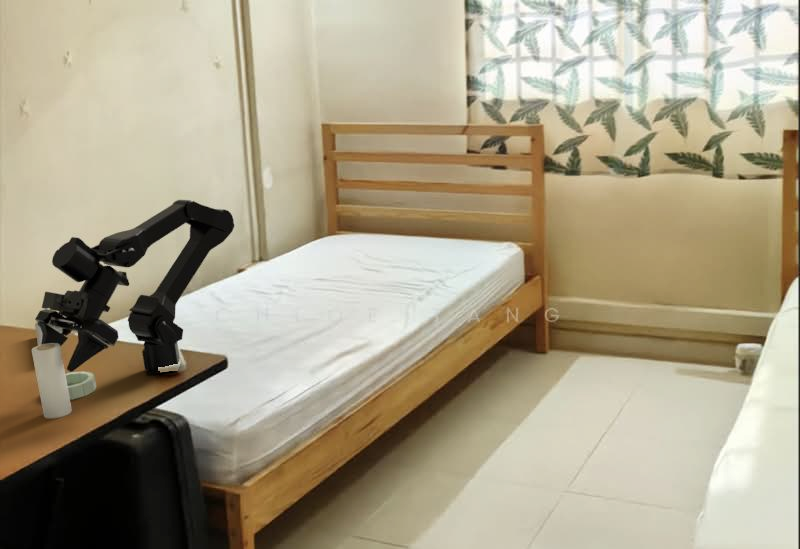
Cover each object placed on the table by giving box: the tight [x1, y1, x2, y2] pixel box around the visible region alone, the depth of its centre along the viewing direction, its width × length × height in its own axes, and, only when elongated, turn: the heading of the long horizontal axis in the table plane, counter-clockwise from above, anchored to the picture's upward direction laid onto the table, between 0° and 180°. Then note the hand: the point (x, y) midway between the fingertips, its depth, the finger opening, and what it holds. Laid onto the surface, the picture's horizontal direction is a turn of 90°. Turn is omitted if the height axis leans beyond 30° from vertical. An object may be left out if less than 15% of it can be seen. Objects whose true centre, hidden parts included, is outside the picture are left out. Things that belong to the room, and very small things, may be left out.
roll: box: [31, 343, 73, 419], centre depth 183 cm, size 5×5×13 cm
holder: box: [65, 371, 97, 401], centre depth 195 cm, size 9×9×2 cm
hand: (54, 367), depth 183 cm, fingers open, 9 cm apart
